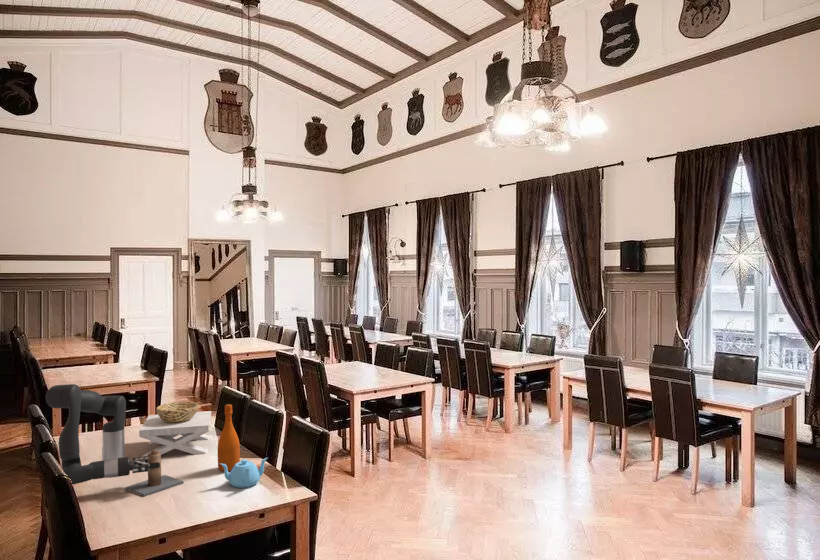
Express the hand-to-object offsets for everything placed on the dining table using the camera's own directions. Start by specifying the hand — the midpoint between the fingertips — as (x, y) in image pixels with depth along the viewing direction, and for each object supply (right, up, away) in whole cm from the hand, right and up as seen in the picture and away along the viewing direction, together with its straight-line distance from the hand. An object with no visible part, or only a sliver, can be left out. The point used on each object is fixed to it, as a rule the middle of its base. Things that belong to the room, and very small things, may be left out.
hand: (159, 461), depth 246 cm
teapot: (+36, -10, +1) cm, 38 cm away
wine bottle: (+23, -10, +21) cm, 33 cm away
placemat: (-2, -10, -1) cm, 10 cm away
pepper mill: (-2, -9, -1) cm, 9 cm away
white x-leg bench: (-14, -10, +55) cm, 58 cm away
